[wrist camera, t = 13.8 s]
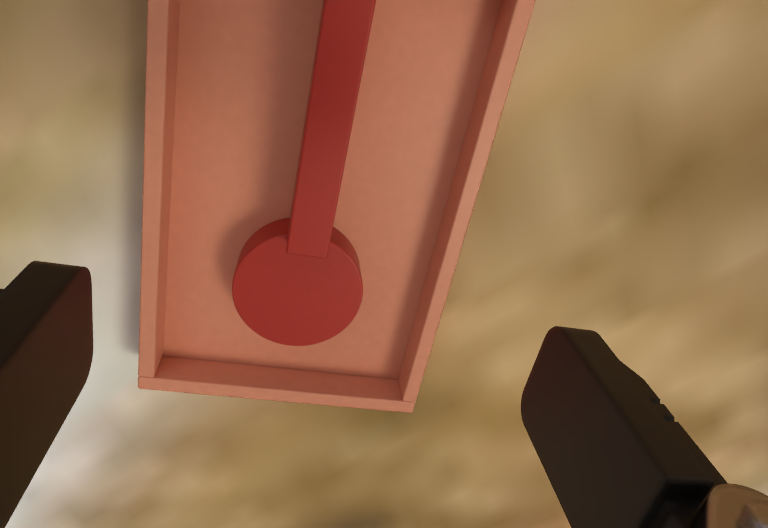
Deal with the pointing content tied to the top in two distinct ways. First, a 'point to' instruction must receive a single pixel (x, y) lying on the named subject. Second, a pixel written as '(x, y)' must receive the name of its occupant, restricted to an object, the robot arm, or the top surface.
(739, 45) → the top surface
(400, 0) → the red tray
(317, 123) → the red spoon
